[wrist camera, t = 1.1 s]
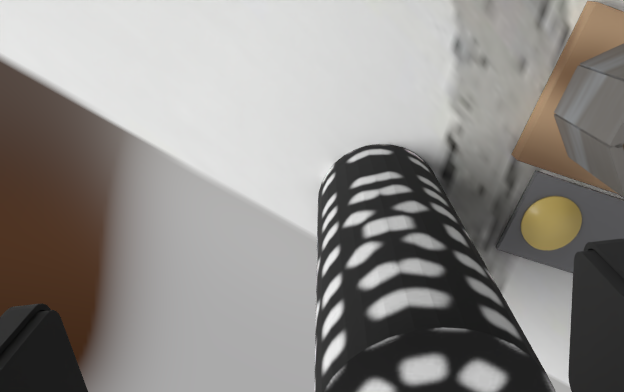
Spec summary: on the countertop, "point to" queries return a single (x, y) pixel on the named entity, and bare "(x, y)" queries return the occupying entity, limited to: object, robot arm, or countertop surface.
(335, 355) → the spotted tube
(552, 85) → the double cup sorting tray
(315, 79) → the countertop surface
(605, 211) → the card
